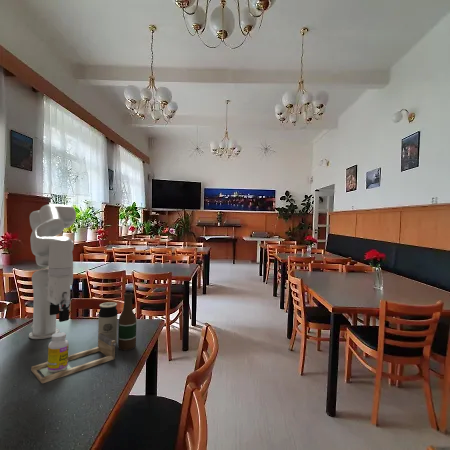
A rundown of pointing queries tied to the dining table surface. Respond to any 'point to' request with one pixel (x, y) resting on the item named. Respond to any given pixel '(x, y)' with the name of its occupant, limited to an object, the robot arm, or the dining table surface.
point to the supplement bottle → (58, 353)
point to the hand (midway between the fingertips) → (59, 317)
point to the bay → (104, 346)
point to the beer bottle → (127, 325)
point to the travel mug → (108, 320)
